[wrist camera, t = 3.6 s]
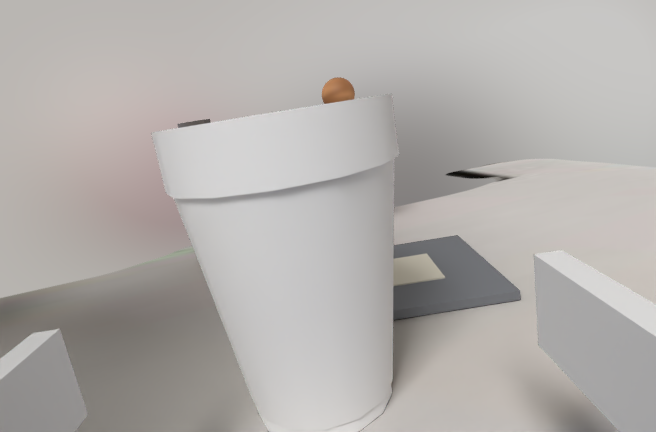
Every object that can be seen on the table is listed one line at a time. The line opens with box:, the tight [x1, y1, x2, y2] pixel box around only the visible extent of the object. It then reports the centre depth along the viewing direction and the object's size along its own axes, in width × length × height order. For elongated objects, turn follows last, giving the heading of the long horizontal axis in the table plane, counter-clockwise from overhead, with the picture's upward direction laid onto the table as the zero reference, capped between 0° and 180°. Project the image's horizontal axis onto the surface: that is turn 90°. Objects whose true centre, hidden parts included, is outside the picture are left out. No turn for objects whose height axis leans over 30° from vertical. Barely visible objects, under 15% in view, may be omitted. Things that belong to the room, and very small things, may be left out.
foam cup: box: [151, 94, 399, 432], centre depth 20 cm, size 10×9×13 cm
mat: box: [393, 235, 521, 320], centre depth 33 cm, size 12×12×1 cm
